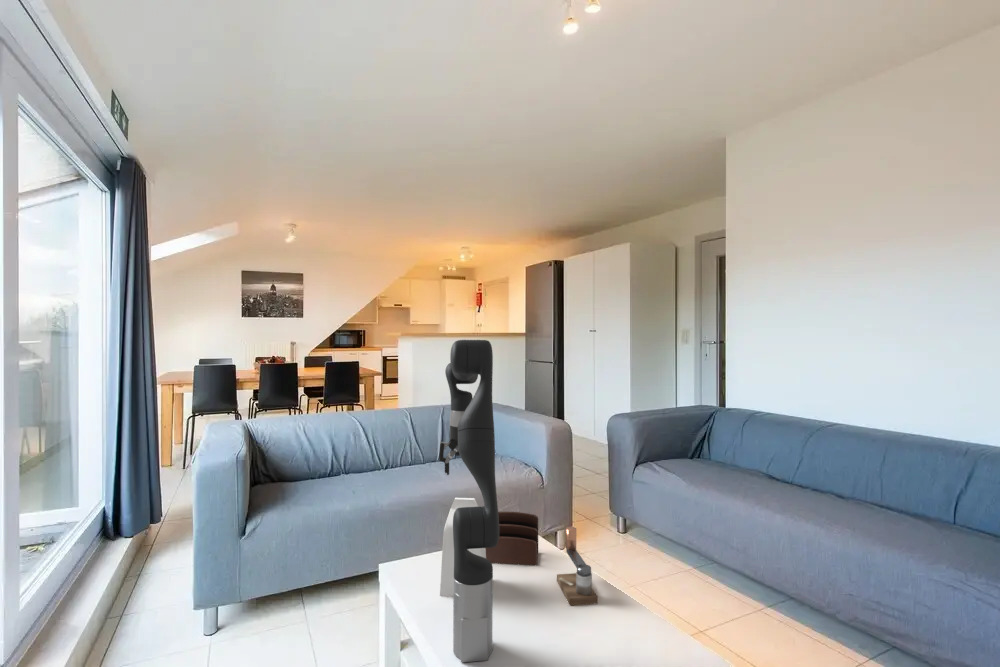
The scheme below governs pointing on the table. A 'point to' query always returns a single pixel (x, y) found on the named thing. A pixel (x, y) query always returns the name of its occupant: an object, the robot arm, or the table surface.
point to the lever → (575, 553)
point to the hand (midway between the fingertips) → (461, 473)
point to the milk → (448, 548)
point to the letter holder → (516, 539)
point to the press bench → (572, 593)
